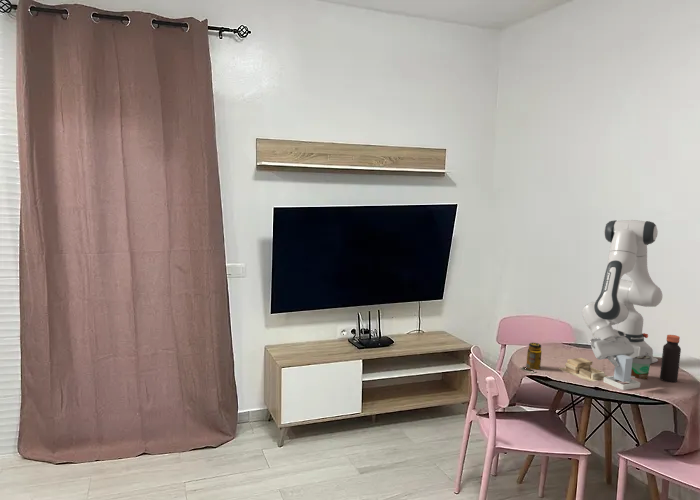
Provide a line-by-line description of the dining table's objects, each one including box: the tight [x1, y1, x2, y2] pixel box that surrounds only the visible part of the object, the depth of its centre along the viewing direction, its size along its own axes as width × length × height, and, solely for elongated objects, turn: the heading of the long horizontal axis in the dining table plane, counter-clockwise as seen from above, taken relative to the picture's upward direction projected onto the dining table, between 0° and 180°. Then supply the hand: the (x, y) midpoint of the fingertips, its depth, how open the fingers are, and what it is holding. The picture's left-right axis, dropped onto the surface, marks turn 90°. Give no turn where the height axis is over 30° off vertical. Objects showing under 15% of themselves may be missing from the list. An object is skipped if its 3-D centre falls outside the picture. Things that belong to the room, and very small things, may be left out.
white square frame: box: [602, 375, 641, 391], centre depth 245 cm, size 10×10×3 cm
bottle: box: [659, 334, 682, 383], centre depth 254 cm, size 7×7×20 cm
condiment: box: [519, 342, 542, 374], centre depth 262 cm, size 7×8×12 cm
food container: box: [631, 354, 653, 381], centre depth 255 cm, size 12×6×10 cm, turn 117°
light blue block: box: [613, 355, 633, 383], centre depth 244 cm, size 4×5×10 cm
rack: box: [558, 366, 609, 383], centre depth 257 cm, size 14×18×4 cm
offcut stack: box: [564, 357, 593, 373], centre depth 261 cm, size 10×6×4 cm, turn 114°
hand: (622, 366), depth 244 cm, fingers closed on light blue block, 4 cm apart
